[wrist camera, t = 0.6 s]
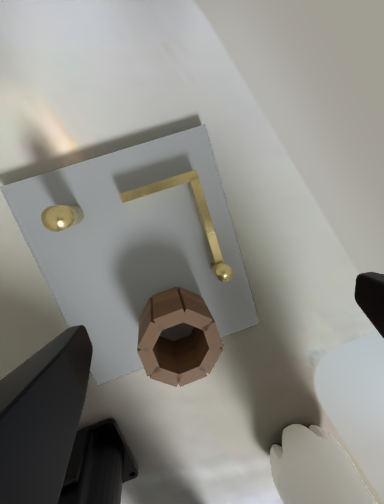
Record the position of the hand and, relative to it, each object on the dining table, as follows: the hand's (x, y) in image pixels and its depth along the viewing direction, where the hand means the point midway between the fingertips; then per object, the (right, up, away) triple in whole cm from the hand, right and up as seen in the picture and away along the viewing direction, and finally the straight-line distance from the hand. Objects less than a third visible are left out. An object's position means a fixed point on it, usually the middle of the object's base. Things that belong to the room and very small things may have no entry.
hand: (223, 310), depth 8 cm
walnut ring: (-2, -3, +12) cm, 13 cm away
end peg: (-9, +5, +10) cm, 14 cm away
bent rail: (-2, +3, +11) cm, 11 cm away
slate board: (-5, +1, +11) cm, 12 cm away
